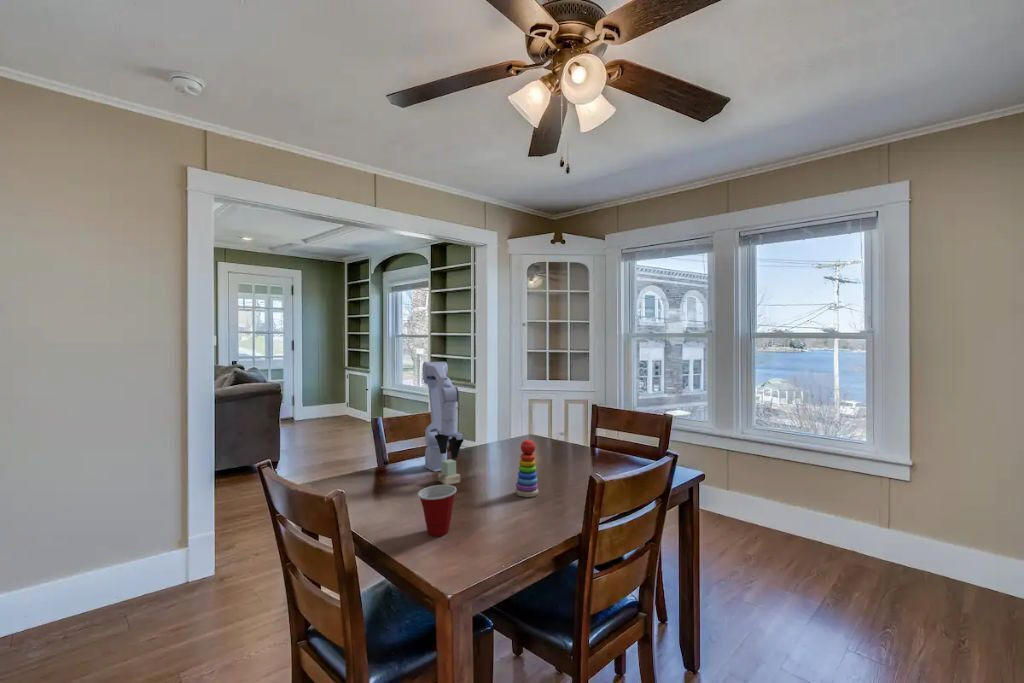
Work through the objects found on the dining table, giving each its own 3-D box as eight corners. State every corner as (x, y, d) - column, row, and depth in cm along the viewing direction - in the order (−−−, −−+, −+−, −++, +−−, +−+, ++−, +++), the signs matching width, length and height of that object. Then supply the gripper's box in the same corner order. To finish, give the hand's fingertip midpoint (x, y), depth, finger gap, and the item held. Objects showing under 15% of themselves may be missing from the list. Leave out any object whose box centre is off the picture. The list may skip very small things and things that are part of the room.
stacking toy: (536, 498, 156) (536, 443, 156) (513, 497, 158) (513, 442, 157) (540, 491, 164) (540, 438, 163) (517, 489, 165) (518, 437, 165)
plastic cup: (420, 524, 135) (420, 483, 135) (457, 523, 135) (457, 483, 135) (414, 541, 124) (414, 497, 124) (455, 540, 125) (455, 496, 124)
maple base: (438, 481, 175) (438, 473, 175) (452, 478, 178) (452, 470, 178) (445, 485, 170) (445, 477, 170) (460, 482, 173) (460, 474, 173)
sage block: (441, 474, 174) (441, 460, 174) (449, 472, 177) (449, 459, 177) (447, 476, 171) (447, 463, 171) (456, 474, 174) (456, 461, 174)
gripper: (429, 417, 176) (429, 453, 177) (450, 423, 165) (450, 461, 166) (445, 415, 181) (445, 450, 181) (466, 421, 170) (466, 458, 170)
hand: (448, 455), depth 174 cm, fingers open, 7 cm apart
